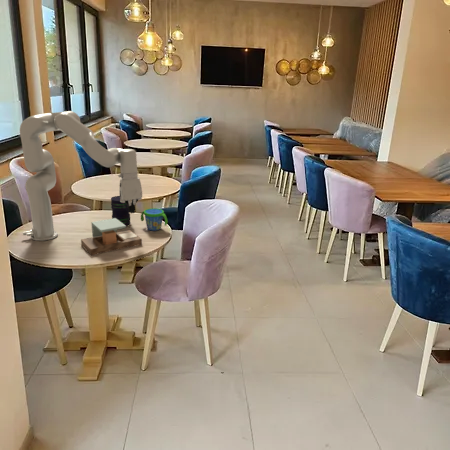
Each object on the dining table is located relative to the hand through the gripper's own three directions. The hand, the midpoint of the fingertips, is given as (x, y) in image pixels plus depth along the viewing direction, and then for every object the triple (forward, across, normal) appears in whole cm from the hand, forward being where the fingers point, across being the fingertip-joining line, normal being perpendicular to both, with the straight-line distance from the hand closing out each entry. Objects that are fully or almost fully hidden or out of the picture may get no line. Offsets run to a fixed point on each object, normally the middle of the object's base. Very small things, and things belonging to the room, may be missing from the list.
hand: (131, 212), depth 201 cm
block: (+14, -12, 0) cm, 18 cm away
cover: (+11, -12, 0) cm, 17 cm away
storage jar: (+15, +4, +26) cm, 30 cm away
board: (+15, -11, 0) cm, 18 cm away
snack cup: (+15, +16, +10) cm, 24 cm away
